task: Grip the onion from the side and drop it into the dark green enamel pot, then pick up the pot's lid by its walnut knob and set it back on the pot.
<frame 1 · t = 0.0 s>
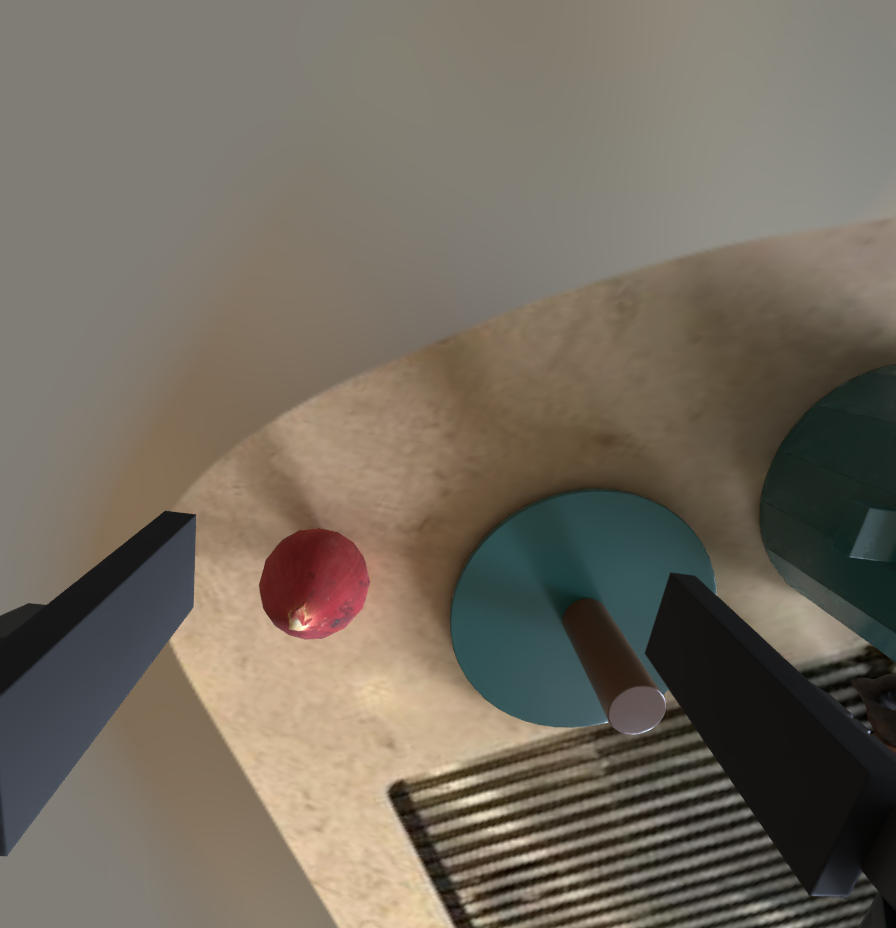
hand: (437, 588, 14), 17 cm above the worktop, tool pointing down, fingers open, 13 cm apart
pot: (883, 491, 33), on the worktop
lid: (582, 613, 33), point 1 cm above the worktop
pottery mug: (826, 706, 38), on the worktop
onion: (327, 550, 32), on the worktop
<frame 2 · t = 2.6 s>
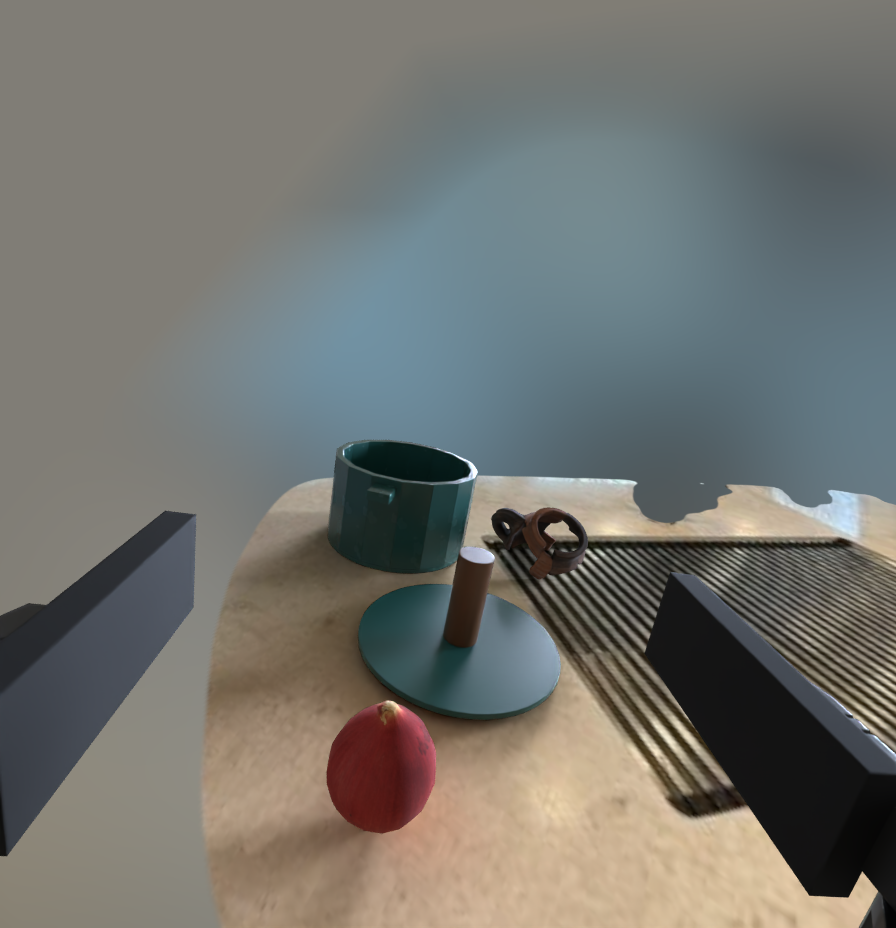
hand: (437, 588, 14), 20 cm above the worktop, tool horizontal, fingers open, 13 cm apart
pot: (395, 539, 63), on the worktop
lid: (459, 641, 44), point 1 cm above the worktop
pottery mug: (531, 562, 64), on the worktop
onion: (373, 820, 28), on the worktop
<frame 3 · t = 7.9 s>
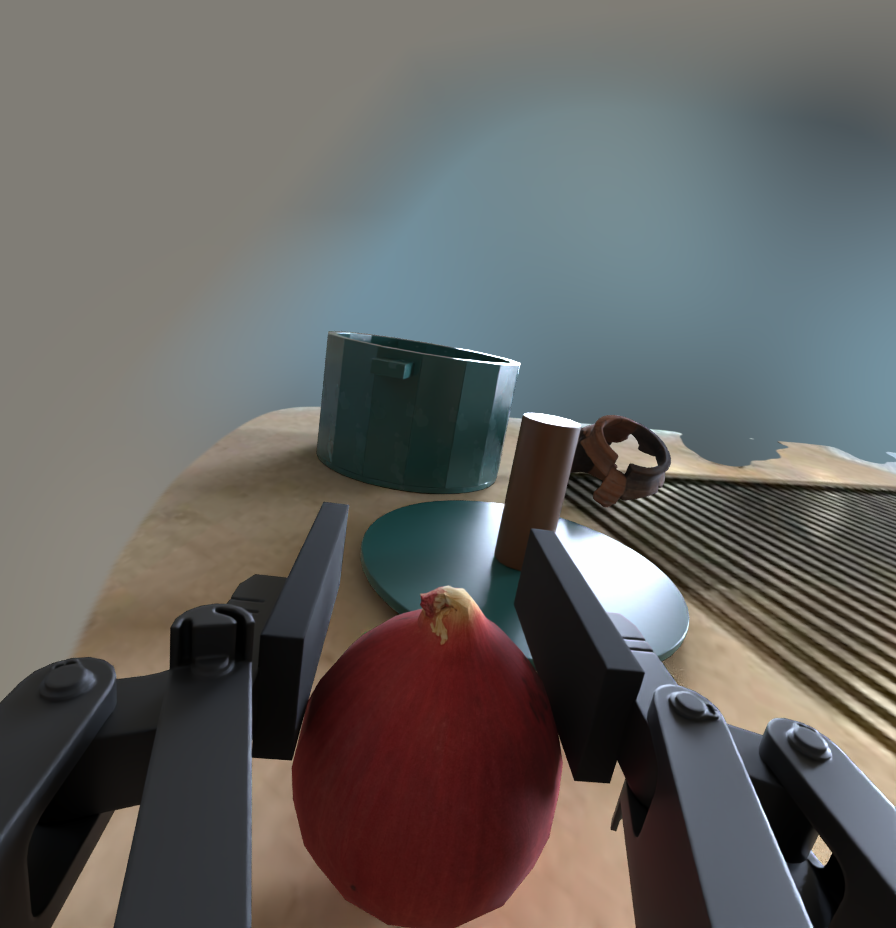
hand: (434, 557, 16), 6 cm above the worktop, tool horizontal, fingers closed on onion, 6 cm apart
pot: (408, 461, 47), on the worktop
lid: (518, 567, 28), point 1 cm above the worktop
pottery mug: (588, 492, 48), on the worktop
onion: (404, 880, 12), on the worktop, touching gripper
when the fingers open (16 cm above the worktop, at t = 16.9 s): onion drops 8 cm, resting on pot.
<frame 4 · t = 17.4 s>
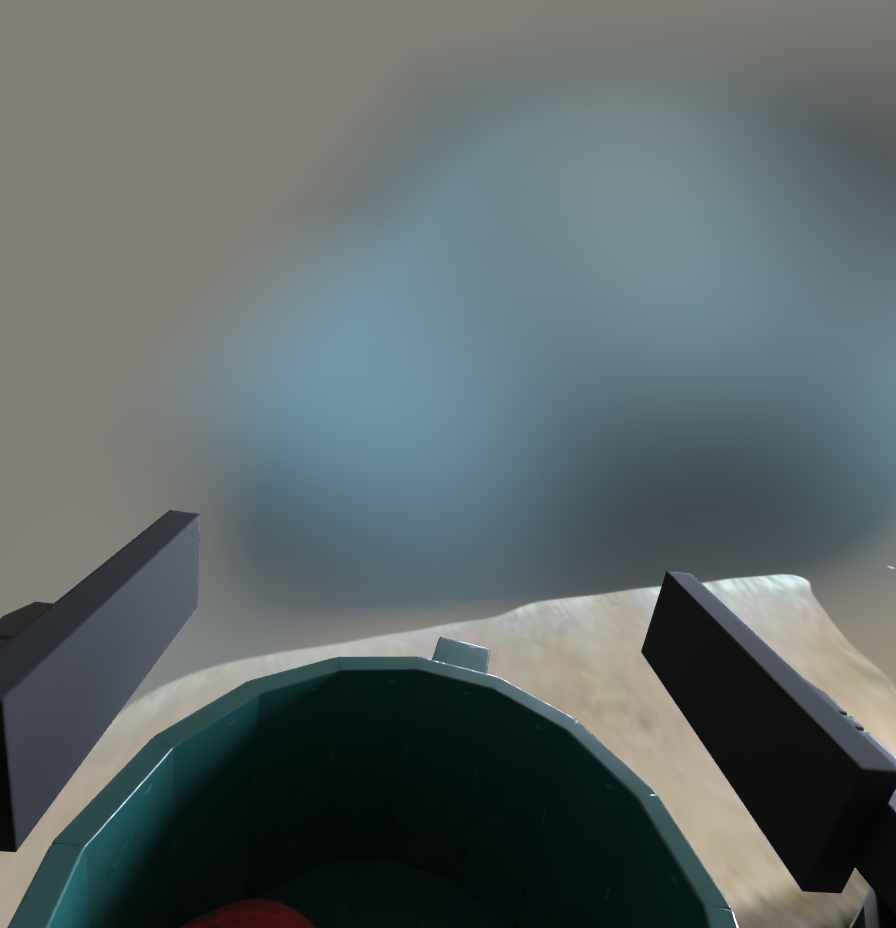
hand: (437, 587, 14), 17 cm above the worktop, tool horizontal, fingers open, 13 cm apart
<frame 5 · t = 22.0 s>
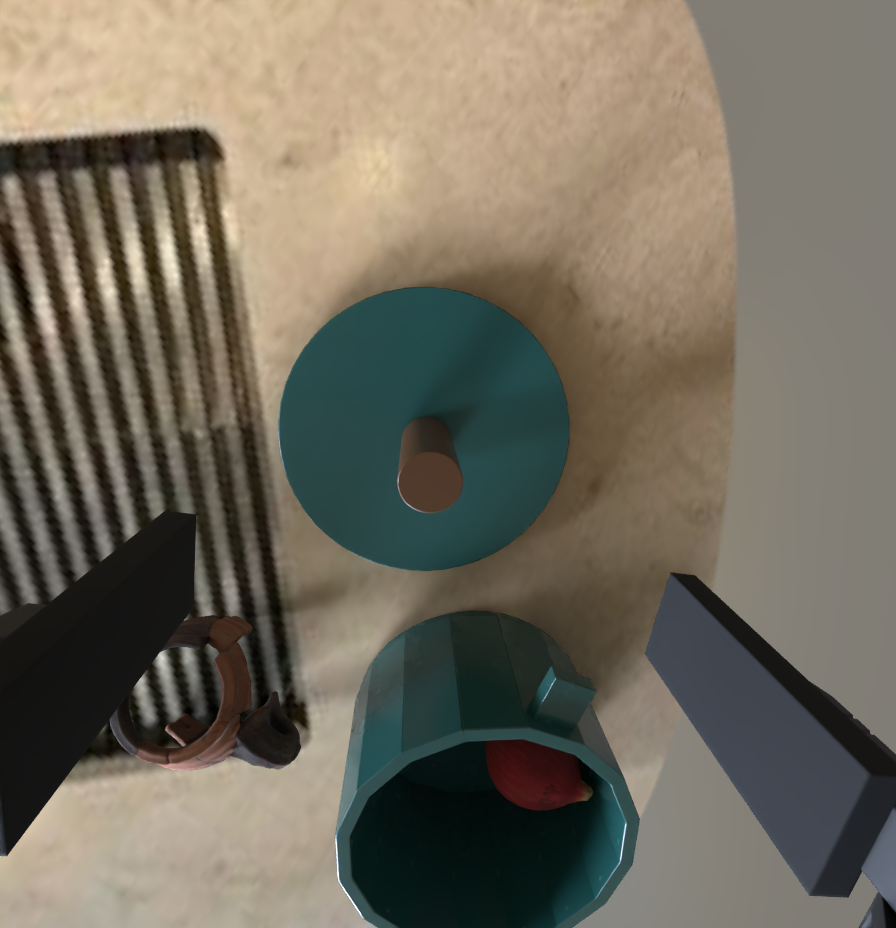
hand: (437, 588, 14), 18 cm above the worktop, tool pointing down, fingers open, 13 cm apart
pot: (469, 707, 38), on the worktop
lid: (426, 438, 31), point 1 cm above the worktop
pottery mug: (233, 671, 36), on the worktop
onion: (483, 723, 36), point 1 cm above the worktop, touching pot
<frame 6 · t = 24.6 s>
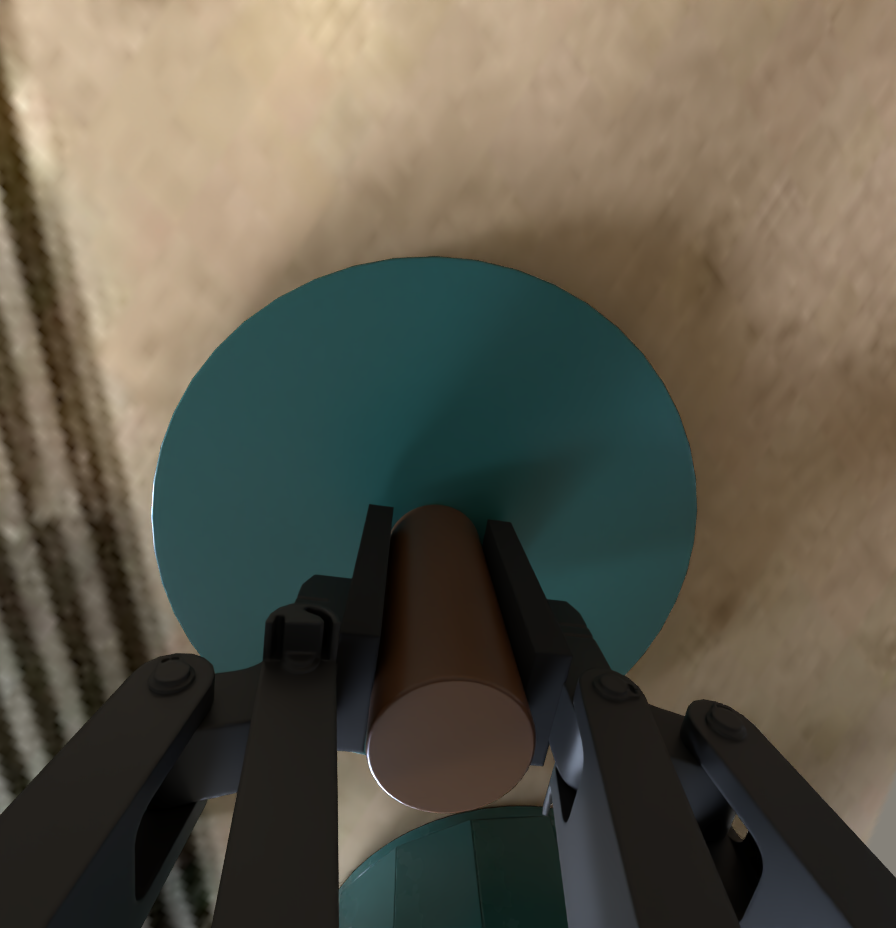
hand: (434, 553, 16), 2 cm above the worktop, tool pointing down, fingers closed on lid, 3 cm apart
lid: (433, 540, 17), point 1 cm above the worktop, touching gripper
when the fingers open (11 cm above the worktop, at t = 30.9 s): lid stays where it is, resting on pot.
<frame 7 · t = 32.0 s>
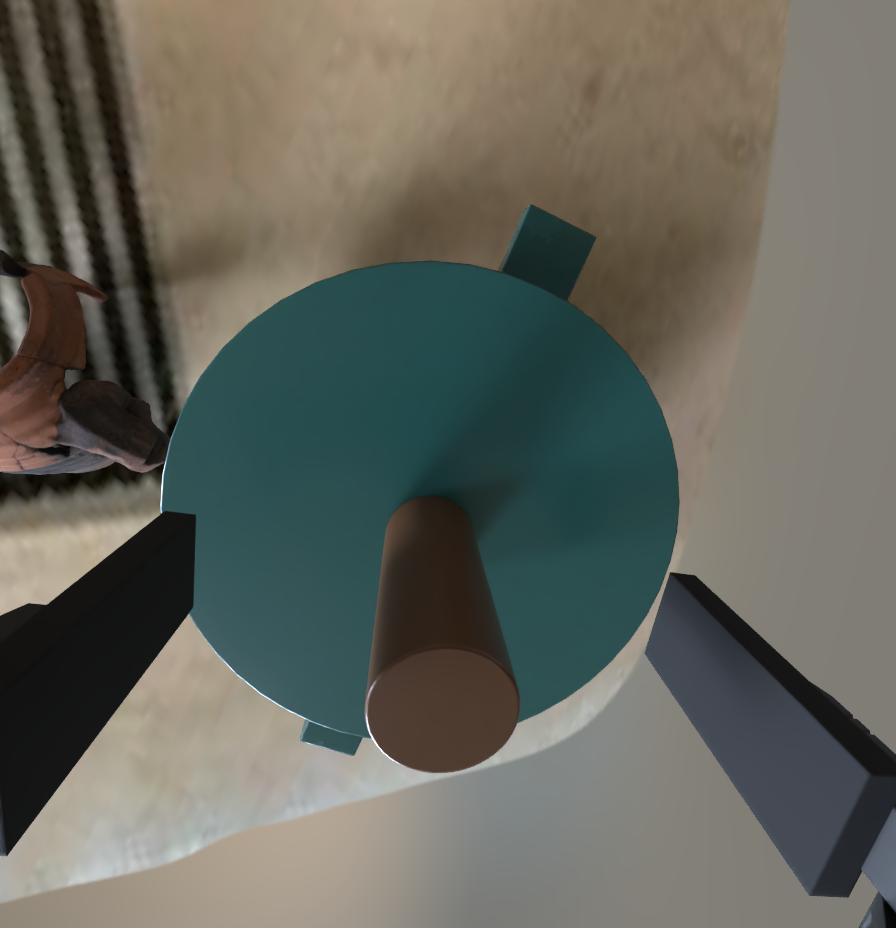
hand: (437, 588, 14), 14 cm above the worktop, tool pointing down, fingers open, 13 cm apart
pot: (423, 452, 28), on the worktop
lid: (428, 530, 18), point 10 cm above the worktop, touching pot
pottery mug: (91, 382, 26), on the worktop
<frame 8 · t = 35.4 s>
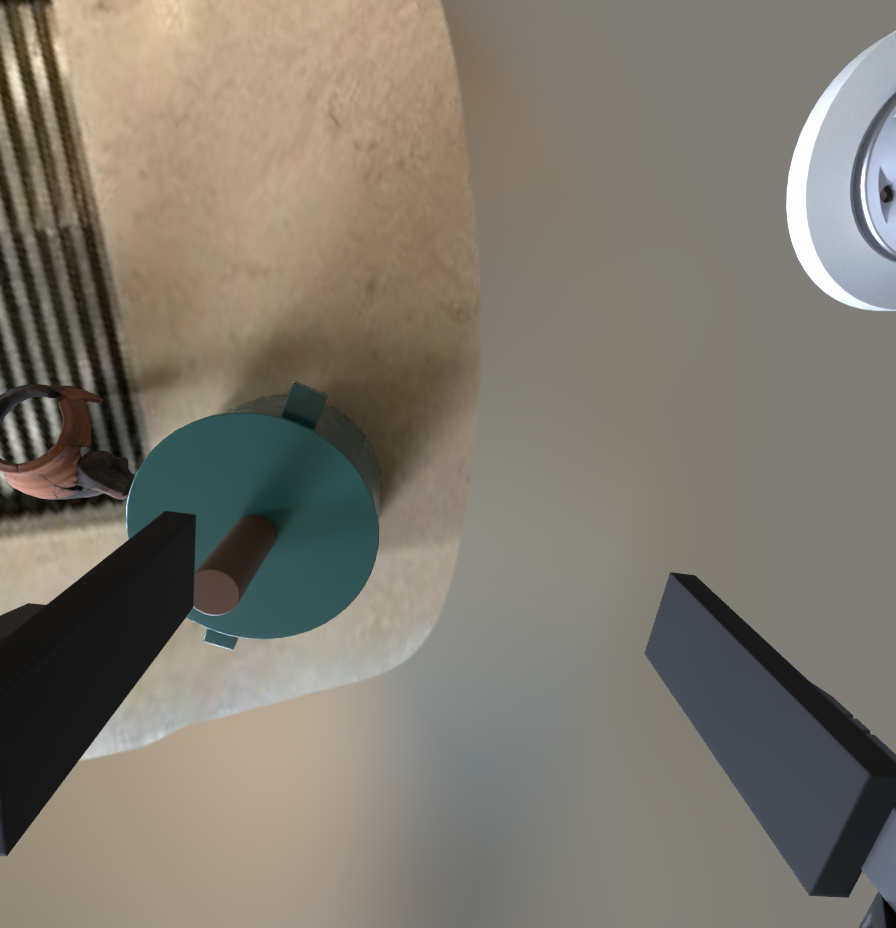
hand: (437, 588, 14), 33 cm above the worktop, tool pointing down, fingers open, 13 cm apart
pot: (291, 484, 47), on the worktop
lid: (257, 531, 37), point 10 cm above the worktop, touching pot
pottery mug: (94, 445, 45), on the worktop
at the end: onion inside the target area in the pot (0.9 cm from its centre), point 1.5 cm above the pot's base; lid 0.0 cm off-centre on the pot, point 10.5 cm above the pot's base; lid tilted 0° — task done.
